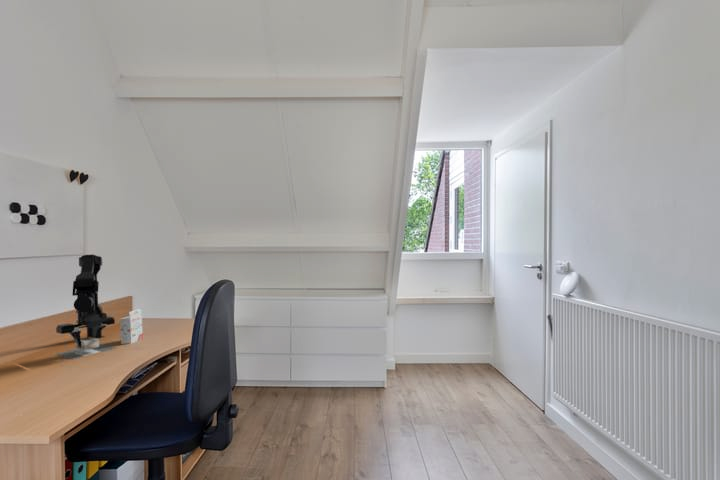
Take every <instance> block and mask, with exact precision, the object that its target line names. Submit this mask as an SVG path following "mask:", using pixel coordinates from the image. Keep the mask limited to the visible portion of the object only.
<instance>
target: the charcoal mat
mask: <svg viewBox="0 0 720 480" xmlns="http://www.w3.org/2000/svg"><path fill="white" fill-rule="evenodd" d="M115 349H117V347H114V346H111V345H107V344H103V343H99V347H96V348H92V349H88V350H83V349H79V348H76V349H72V350H71V349H70V350H67V351H63V352H59V353H56V355H58V356H61V357H64V358H67V359H69V360H75V359H80V358H84V357H87V356H91V355H96V354H100V353H103V352H108V351H112V350H115Z"/></svg>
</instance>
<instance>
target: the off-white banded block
mask: <svg viewBox="0 0 720 480" xmlns="http://www.w3.org/2000/svg"><path fill="white" fill-rule="evenodd" d="M80 339H81V347H78V345H77V343H76V342H75V348H76V349H83V350H88V349H92V348H96V347H99V344H100V338H98V339H97V338H93V337H87V336H85V337H82V338H81V337H80Z"/></svg>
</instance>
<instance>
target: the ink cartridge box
mask: <svg viewBox="0 0 720 480" xmlns="http://www.w3.org/2000/svg"><path fill="white" fill-rule="evenodd" d="M128 314H129V316H125V317H121V318H119V326H120V327H119V329H120V330H119V331H120V345H122V344H123V345H125V344H127V345H128V344H130V345H131V344H133V343H136V342H139V340H140V341H142V340H144V338H143V337H144V334H143V314H142V309H141V308H137V309H134V310H131V311H129V312H128Z"/></svg>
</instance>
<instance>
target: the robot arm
mask: <svg viewBox="0 0 720 480" xmlns="http://www.w3.org/2000/svg"><path fill="white" fill-rule="evenodd" d="M101 266H103V258H102V256H100V255H96V254H82V255H81V256H79V257H78V267H80V268H81V269H80V273H79V274H77V275H76V276H75V280H73V281H72V297H73V296H76V299H75V300H74V301H73V308H74V309H75V313H76V314H77V320H76V323H75V324H73V323H64V324H63V323H62V324H58V325H57V326H56V328H55V331H56V333H57V334H62V335H63V334H69V335H70V336H71V337H72V338H73V340H74V341H75V344H76V343H77V345H78V347H81V334H82V333H81V330H80V329H82V328H84V329H85V328H86V337H93V338H97V339H101V338H105V336H104V335H103V334H102V333H103V329H105V328H107V326H111V325H115V322H116V320H115V317H112V316H107V315H108V314H107V313H106V312H103V308H102V306H101V305H100V304H99V281H98V273H99V272H100V270H101V268H102V267H101Z"/></svg>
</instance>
